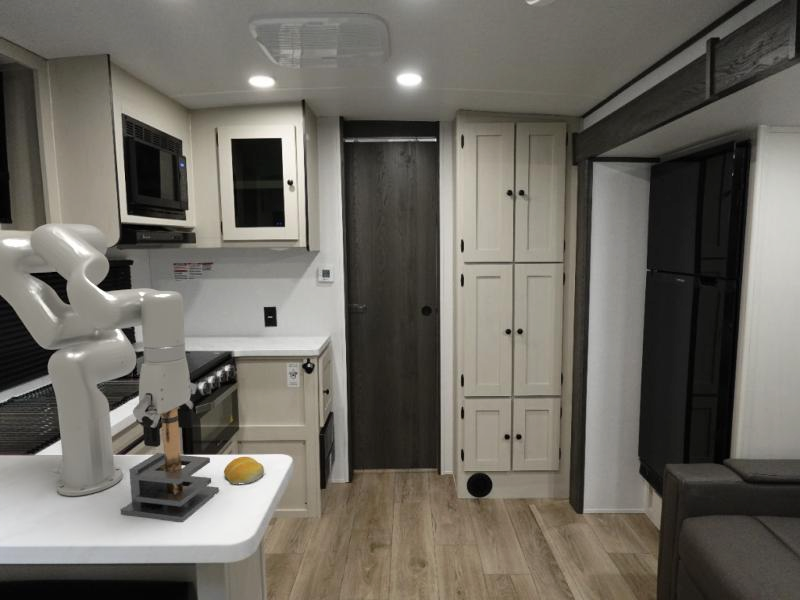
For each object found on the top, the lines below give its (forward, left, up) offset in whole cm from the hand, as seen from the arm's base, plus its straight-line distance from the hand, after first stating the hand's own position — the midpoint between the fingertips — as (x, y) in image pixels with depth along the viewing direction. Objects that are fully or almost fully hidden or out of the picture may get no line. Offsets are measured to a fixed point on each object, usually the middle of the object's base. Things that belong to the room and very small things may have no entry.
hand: (169, 436), depth 101 cm
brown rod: (+1, 0, -13) cm, 13 cm away
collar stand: (+1, 0, -14) cm, 14 cm away
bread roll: (+8, +14, -15) cm, 22 cm away
